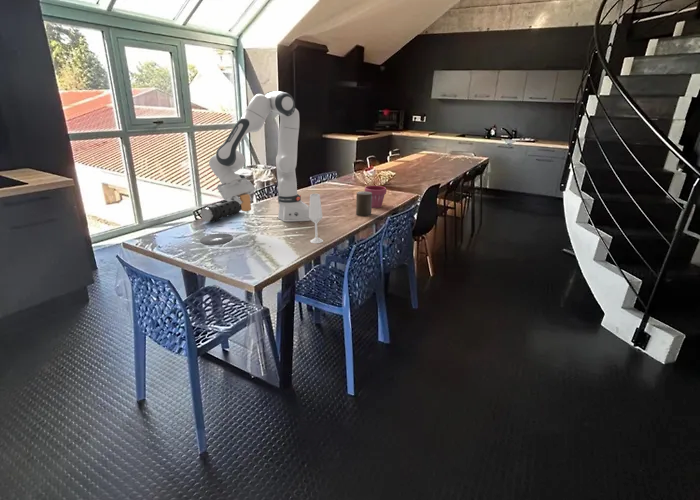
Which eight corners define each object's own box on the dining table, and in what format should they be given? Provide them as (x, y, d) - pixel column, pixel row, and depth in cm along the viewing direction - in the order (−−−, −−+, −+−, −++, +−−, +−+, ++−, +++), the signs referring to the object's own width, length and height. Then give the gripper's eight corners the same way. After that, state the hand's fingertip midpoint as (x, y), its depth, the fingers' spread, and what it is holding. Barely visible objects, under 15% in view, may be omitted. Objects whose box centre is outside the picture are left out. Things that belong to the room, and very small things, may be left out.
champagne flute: (307, 242, 191) (305, 195, 182) (313, 238, 197) (311, 192, 188) (319, 244, 189) (318, 196, 180) (325, 239, 195) (324, 193, 186)
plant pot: (389, 205, 259) (389, 186, 254) (379, 210, 248) (380, 190, 243) (371, 202, 266) (371, 184, 261) (360, 207, 255) (360, 188, 250)
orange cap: (252, 208, 204) (250, 194, 201) (249, 211, 199) (247, 196, 196) (243, 208, 204) (241, 194, 202) (240, 211, 200) (238, 196, 197)
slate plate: (237, 234, 202) (237, 233, 202) (225, 245, 187) (225, 244, 187) (209, 233, 204) (209, 232, 204) (194, 244, 189) (194, 243, 189)
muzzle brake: (244, 213, 242) (243, 197, 238) (213, 225, 219) (210, 207, 215) (233, 211, 246) (231, 195, 242) (201, 223, 222) (198, 206, 219)
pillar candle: (363, 217, 232) (364, 193, 227) (352, 213, 239) (353, 190, 234) (374, 214, 238) (375, 191, 233) (364, 211, 245) (364, 188, 240)
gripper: (217, 181, 191) (233, 202, 190) (247, 174, 207) (262, 194, 206) (213, 189, 195) (228, 210, 194) (242, 182, 211) (257, 201, 210)
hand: (246, 201), depth 200 cm, fingers closed on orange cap, 5 cm apart
